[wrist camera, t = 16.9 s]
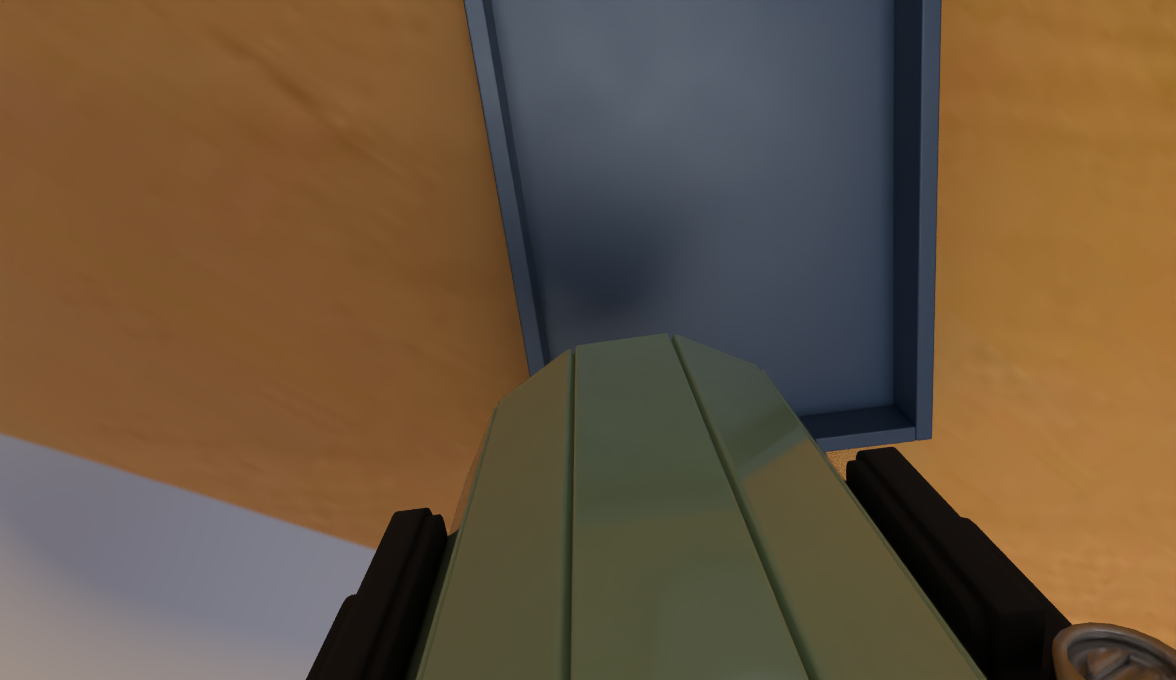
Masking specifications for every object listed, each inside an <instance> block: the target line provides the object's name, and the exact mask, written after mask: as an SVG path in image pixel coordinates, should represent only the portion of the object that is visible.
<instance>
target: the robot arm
mask: <svg viewBox="0 0 1176 680" xmlns="http://www.w3.org/2000/svg"><path fill="white" fill-rule="evenodd" d="M846 481H847V483H848V484H849V486H850V487H851V488H852V490H853V491H854V493H855V494H856V495H857V497H858V498H859V499H860V501H861V502H862V504H863V505H864V506H865V508H866V509H867V510H868V512H869V513H870V515H871V516H872V517H873V519H874V520H875V521H876V523H877V524H878V526H879V527H880V528H881V530H882V531H883V532H884V534H885V535H886V537H887V538H888V539H889V541H890V542H891V543H892V545H893V546H894V548H895V549H896V550H897V552H898V553H899V554H900V556H901V557H902V559H903V560H904V561H905V563H906V564H907V565H908V567H909V568H910V570H911V571H912V572H913V574H914V575H915V576H916V578H917V579H918V581H919V582H920V583H921V585H922V586H923V587H924V589H925V590H926V592H927V593H928V594H929V596H930V597H931V598H932V600H933V601H934V603H935V604H936V605H937V607H938V608H939V610H940V611H941V612H942V614H943V615H944V616H945V618H946V619H947V621H948V622H949V623H950V625H951V626H952V627H953V629H954V630H955V632H956V633H957V634H958V636H959V637H960V638H961V640H962V641H963V643H964V644H965V645H966V647H967V648H968V649H969V651H970V652H971V654H972V655H973V656H974V658H975V659H976V660H977V662H978V663H979V665H980V666H981V667H982V669H983V670H984V671H985V673H986V674H987V676H988V677H989V678H990V680H1176V650H1175V649H1173V648H1171V647H1170V646H1168V645H1166V644H1165V643H1163V642H1161V641H1160V640H1158V639H1156V638H1154V637H1151V636H1149V635H1146V634H1144V633H1141V632H1139V631H1137V630H1134V629H1130V628H1126V627H1122V626H1118V625H1114V624H1106V623H1093V622H1090V623H1082V624H1075V625H1072V624H1071V623H1070V622H1069V621H1068V620H1067V619H1066V618H1065V617H1064V616H1063V615H1062V614H1061V613H1060V612H1059V610H1058V609H1057V608H1056V607H1055V606H1054V605H1053V604H1052V603H1051V602H1050V601H1049V600H1048V599H1047V598H1046V597H1045V596H1044V595H1043V594H1042V593H1041V592H1040V591H1039V590H1038V589H1037V588H1036V587H1035V586H1034V584H1033V583H1032V582H1031V581H1030V580H1029V579H1028V578H1027V577H1026V576H1025V575H1024V574H1023V573H1022V572H1021V571H1020V570H1019V569H1018V568H1017V567H1016V566H1015V565H1014V564H1013V563H1012V562H1011V561H1010V560H1009V559H1008V557H1007V556H1006V555H1005V554H1004V553H1003V552H1002V551H1001V550H1000V549H999V548H998V547H997V546H996V545H995V544H994V543H993V542H992V541H991V540H990V539H989V538H988V537H987V536H986V535H985V534H984V533H983V531H982V530H981V529H980V528H979V527H978V526H977V525H976V524H975V523H973V522H972V521H971V520H970V519H968V518H963V517H960V516H959V515H958V514H957V513H956V512H955V511H954V509H953V508H952V507H951V506H950V505H949V504H948V503H947V502H946V501H945V500H944V499H943V498H942V497H941V496H940V495H939V494H938V492H937V491H936V490H935V489H934V488H933V487H932V486H931V485H930V484H929V483H928V482H927V481H926V480H925V479H924V478H923V477H922V475H921V474H920V473H919V472H918V471H917V470H916V469H915V468H914V467H913V466H912V465H911V464H910V463H909V462H908V461H907V460H906V459H905V457H904V456H903V455H902V454H901V453H900V452H899V451H898V450H897V449H896V448H894V447H886V448H878V449H871V450H863V451H859V452H858V453H857V456H856V460H853V461H848V462H847V466H846ZM447 539H448V536H447V531H446V527H445V523H444V520H443V517H442V516H441V515H440V514H439V515H432V512H431V510H430V509H429V508H420V509H412V510H405V511H397V512H395V513H394V514H393V516H392V518H391V520H390V523H389V525H388V527H387V529H386V531H385V533H384V536H383V538H382V540H381V542H380V544H379V546H378V549H377V551H376V553H375V555H374V557H373V559H372V562H371V564H370V566H369V568H368V570H367V573H366V575H365V577H364V579H363V581H362V583H361V585H360V588H359V590H358V592H357V594H354V595H351V596H349V597H347V598H346V599H345V601H344V602H343V604H342V606H341V608H340V610H339V612H338V614H337V616H336V618H335V621H334V622H333V625H332V627H331V629H330V631H329V633H328V635H327V637H326V639H325V641H324V643H323V645H322V648H321V650H320V651H319V654H318V656H317V658H316V660H315V662H314V664H313V666H312V668H311V670H310V672H309V674H308V677H307V678H306V680H404V678H405V675H406V672H407V668H408V665H409V662H410V659H411V655H412V652H413V649H414V646H415V642H416V639H417V636H418V633H419V629H420V626H421V623H422V620H423V617H424V613H425V610H426V607H427V604H428V600H429V597H430V594H431V591H432V587H433V584H434V581H435V578H436V574H437V571H438V568H439V565H440V561H441V558H442V555H443V552H444V548H445V545H446V542H447Z"/></svg>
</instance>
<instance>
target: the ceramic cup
mask: <svg viewBox="0 0 1176 680" xmlns="http://www.w3.org/2000/svg"><path fill="white" fill-rule="evenodd" d="M404 680H990V678H989V677H988V676H987V674H986V673H985V671H984V670H983V669H982V667H981V666H980V665H979V663H978V662H977V660H976V659H975V658H974V656H973V655H972V654H971V652H970V651H969V649H968V648H967V647H966V645H965V644H964V643H963V641H962V640H961V638H960V637H959V636H958V634H957V633H956V632H955V630H954V629H953V627H952V626H951V625H950V623H949V622H948V621H947V619H946V618H945V616H944V615H943V614H942V612H941V611H940V610H939V608H938V607H937V605H936V604H935V603H934V601H933V600H932V598H931V597H930V596H929V594H928V593H927V592H926V590H925V589H924V587H923V586H922V585H921V583H920V582H919V581H918V579H917V578H916V576H915V575H914V574H913V572H912V571H911V570H910V568H909V567H908V565H907V564H906V563H905V561H904V560H903V559H902V557H901V556H900V554H899V553H898V552H897V550H896V549H895V548H894V546H893V545H892V543H891V542H890V541H889V539H888V538H887V537H886V535H885V534H884V532H883V531H882V530H881V528H880V527H879V526H878V524H877V523H876V521H875V520H874V519H873V517H872V516H871V515H870V513H869V512H868V510H867V509H866V508H865V506H864V505H863V504H862V502H861V501H860V499H859V498H858V497H857V495H856V494H855V493H854V491H853V490H852V488H851V487H850V486H849V484H848V483H847V481H846V480H845V479H844V477H843V476H842V475H841V473H840V472H839V470H838V469H837V468H836V466H835V465H834V464H833V462H832V461H831V459H830V458H829V457H828V455H827V454H826V453H825V451H824V450H823V448H822V447H821V446H820V444H819V443H818V442H817V440H816V439H815V437H814V436H813V435H812V433H811V432H810V431H809V429H808V428H807V427H806V425H805V424H804V423H803V421H802V420H801V419H800V417H799V416H798V415H797V413H796V412H795V411H794V409H793V408H792V407H791V405H790V404H789V403H788V401H787V400H786V399H785V397H784V396H783V395H782V393H781V392H780V391H779V389H778V388H777V387H776V385H775V384H774V383H773V381H772V380H771V379H770V377H769V376H768V375H767V373H766V372H765V371H764V370H760V368H759V367H758V366H757V365H755V364H752V363H750V362H747V361H745V360H742V359H740V358H737V357H734V356H732V355H729V354H727V353H724V352H721V351H719V350H716V349H714V348H711V347H709V346H706V345H703V344H701V343H698V342H696V341H693V340H690V339H688V338H685V337H683V336H680V335H677V334H674V335H673V337H672V339H671V338H670V336H669V334H668V333H663V334H655V335H648V336H641V337H634V338H627V339H619V340H612V341H605V342H598V343H590V344H583V345H577V346H576V347H575V353H574V352H573V351H572V350H571V349H567V350H566V351H565V352H563V353H562V354H561V355H559V356H558V357H557V358H555V359H554V360H553V361H551V362H550V363H549V364H547V365H546V366H545V367H543V368H542V369H541V370H539V371H538V372H537V373H535V374H534V375H533V376H531V377H530V378H529V379H527V380H526V381H525V382H523V383H522V384H521V385H519V386H518V387H517V388H515V389H514V390H513V391H511V392H510V393H509V394H507V395H506V396H505V397H503V398H502V399H501V400H500V401H499V403H498V406H495V407H494V408H493V411H492V414H491V416H490V419H489V421H488V424H487V426H486V429H485V431H484V434H483V437H482V439H481V442H480V444H479V447H478V449H477V452H476V454H475V457H474V460H473V462H472V465H471V467H470V470H469V472H468V475H467V477H466V480H465V484H464V487H463V490H462V493H461V496H460V500H459V503H458V506H457V509H456V513H455V516H454V519H453V522H452V526H451V529H450V532H449V535H448V539H447V542H446V545H445V548H444V552H443V555H442V558H441V561H440V565H439V568H438V571H437V574H436V578H435V581H434V584H433V587H432V591H431V594H430V597H429V600H428V604H427V607H426V610H425V613H424V617H423V620H422V623H421V626H420V629H419V633H418V636H417V639H416V642H415V646H414V649H413V652H412V655H411V659H410V662H409V665H408V668H407V672H406V675H405V678H404Z"/></svg>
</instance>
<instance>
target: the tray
mask: <svg viewBox="0 0 1176 680" xmlns="http://www.w3.org/2000/svg"><path fill="white" fill-rule="evenodd" d="M463 1H464V6H465V12H466V18H467V23H468V29H469V35H470V40H471V46H472V52H473V57H474V63H475V69H476V74H477V80H478V86H479V91H480V97H481V102H482V108H483V114H484V119H485V125H486V131H487V136H488V142H489V148H490V153H491V159H492V165H493V170H494V176H495V182H496V187H497V193H498V199H499V204H500V210H501V216H502V221H503V227H504V232H505V238H506V244H507V249H508V255H509V261H510V266H511V272H512V278H513V283H514V289H515V295H516V300H517V306H518V312H519V317H520V323H521V329H522V334H523V340H524V346H525V351H526V357H527V363H528V368H529V374H530V377H531V376H533V375H534V374H535V373H537V372H538V371H539V370H541V369H542V368H543V367H545V366H546V365H547V364H549V363H550V362H551V361H553V360H554V359H555V358H557V357H558V356H559V355H561V354H562V353H563V352H565V351H566V350H567V349H571V350H572V351H573V352H574V353H575V347H576V346H577V345H583V344H590V343H598V342H605V341H612V340H619V339H627V338H634V337H641V336H648V335H655V334H663V333H668V334H669V336H670V338H671V339H672V337H673V335H674V334H677V335H680V336H683V337H685V338H688V339H690V340H693V341H696V342H698V343H701V344H703V345H706V346H709V347H711V348H714V349H716V350H719V351H721V352H724V353H727V354H729V355H732V356H734V357H737V358H740V359H742V360H745V361H747V362H750V363H752V364H755V365H757V366H758V367H759V368H760V370H764V371H765V372H766V373H767V375H768V376H769V377H770V379H771V380H772V381H773V383H774V384H775V385H776V387H777V388H778V389H779V391H780V392H781V393H782V395H783V396H784V397H785V399H786V400H787V401H788V403H789V404H790V405H791V407H792V408H793V409H794V411H795V412H796V413H797V415H798V416H799V417H800V419H801V420H802V421H803V423H804V424H805V425H806V427H807V428H808V429H809V431H810V432H811V433H812V435H813V436H814V437H815V439H816V440H817V442H818V443H819V444H820V446H821V447H822V448H823V450H824V451H825V452H827V451H836V450H844V449H852V448H861V447H869V446H877V445H886V444H894V443H902V442H911V441H915V440H917V441H918V440H927V439H932V411H933V365H934V320H935V274H936V228H937V182H938V136H939V91H940V45H941V0H463Z"/></svg>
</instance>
